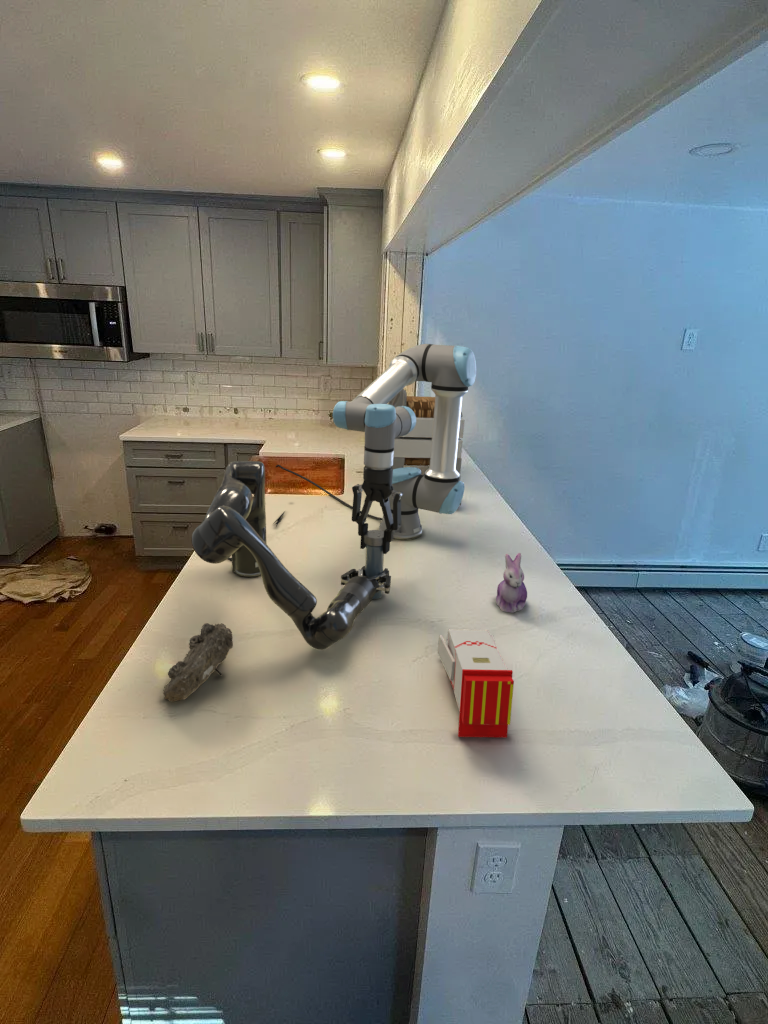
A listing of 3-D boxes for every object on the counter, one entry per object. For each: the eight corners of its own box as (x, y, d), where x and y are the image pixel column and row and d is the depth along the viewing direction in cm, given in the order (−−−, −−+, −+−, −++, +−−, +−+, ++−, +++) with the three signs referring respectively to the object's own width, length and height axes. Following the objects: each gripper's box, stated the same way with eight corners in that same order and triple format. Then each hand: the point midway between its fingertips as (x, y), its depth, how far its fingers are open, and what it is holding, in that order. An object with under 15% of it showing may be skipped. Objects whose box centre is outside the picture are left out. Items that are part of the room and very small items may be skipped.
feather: (291, 505, 226) (294, 501, 225) (275, 529, 199) (277, 524, 199) (288, 503, 226) (290, 499, 225) (270, 526, 199) (273, 522, 199)
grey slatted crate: (382, 463, 289) (386, 382, 275) (445, 464, 293) (451, 384, 279) (390, 482, 257) (394, 392, 243) (460, 483, 261) (468, 394, 247)
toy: (488, 613, 130) (523, 677, 101) (484, 667, 133) (517, 744, 104) (435, 612, 130) (455, 676, 101) (432, 666, 133) (451, 743, 103)
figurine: (509, 617, 148) (516, 565, 143) (485, 599, 156) (491, 550, 151) (537, 610, 152) (544, 559, 147) (512, 593, 161) (519, 544, 156)
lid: (359, 541, 151) (359, 533, 150) (375, 535, 155) (375, 528, 155) (375, 548, 147) (375, 540, 146) (391, 542, 151) (391, 534, 151)
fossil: (187, 626, 130) (233, 595, 125) (216, 654, 133) (262, 625, 128) (141, 695, 110) (194, 662, 105) (176, 726, 113) (229, 696, 108)
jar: (372, 589, 160) (374, 531, 154) (385, 595, 157) (388, 536, 151) (360, 595, 156) (362, 536, 150) (374, 601, 153) (376, 541, 147)
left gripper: (382, 588, 138) (402, 561, 153) (328, 578, 142) (353, 552, 158) (381, 615, 141) (401, 586, 156) (328, 604, 145) (352, 577, 160)
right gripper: (418, 468, 144) (412, 551, 152) (352, 457, 151) (350, 538, 159) (407, 475, 137) (402, 562, 145) (338, 464, 144) (337, 547, 152)
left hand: (377, 569), depth 157 cm, fingers closed on jar, 5 cm apart
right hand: (375, 549), depth 152 cm, fingers closed on lid, 6 cm apart
